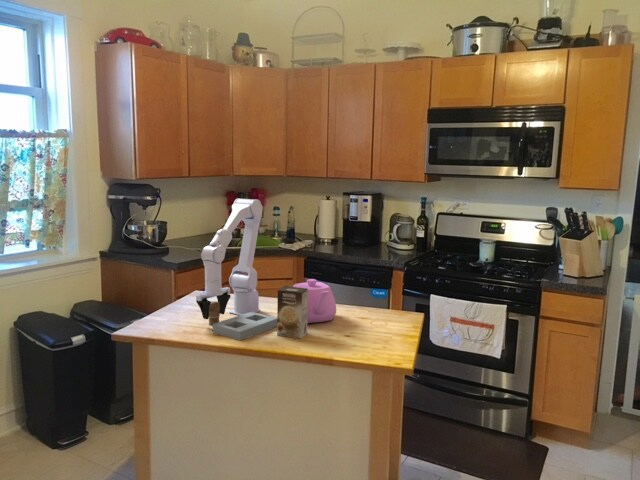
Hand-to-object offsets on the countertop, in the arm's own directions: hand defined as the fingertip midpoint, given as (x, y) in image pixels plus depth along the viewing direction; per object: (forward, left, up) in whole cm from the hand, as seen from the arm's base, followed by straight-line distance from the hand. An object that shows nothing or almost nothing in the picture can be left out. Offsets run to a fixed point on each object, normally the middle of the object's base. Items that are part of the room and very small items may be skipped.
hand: (213, 316), depth 190 cm
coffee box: (-9, +29, -3) cm, 31 cm away
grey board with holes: (-3, +13, -3) cm, 14 cm away
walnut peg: (0, 0, -3) cm, 3 cm away
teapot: (-27, +24, -3) cm, 36 cm away
